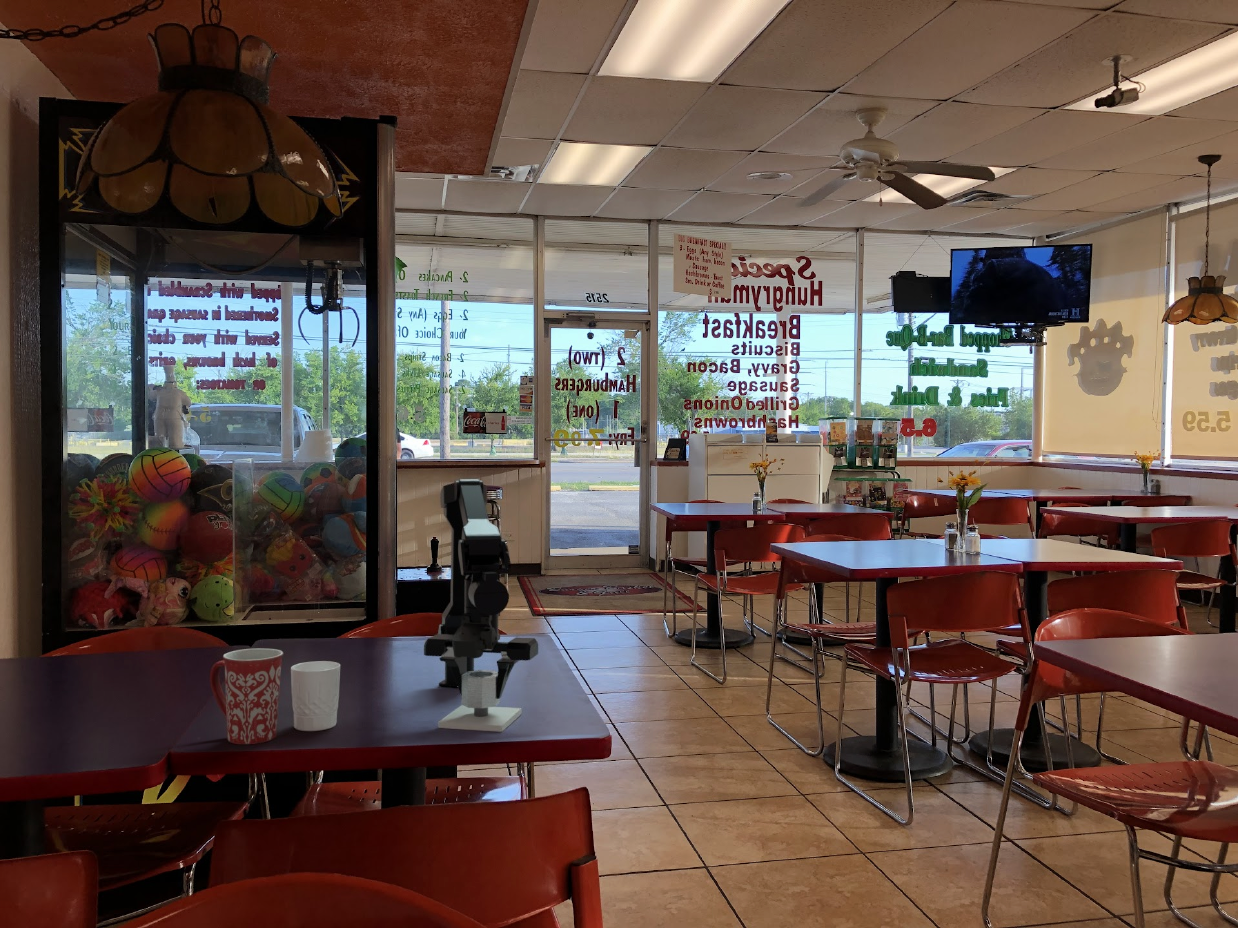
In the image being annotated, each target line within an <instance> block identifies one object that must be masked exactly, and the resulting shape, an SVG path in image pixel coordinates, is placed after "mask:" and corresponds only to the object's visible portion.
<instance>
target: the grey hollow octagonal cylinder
mask: <svg viewBox="0 0 1238 928" xmlns="http://www.w3.org/2000/svg"><path fill="white" fill-rule="evenodd" d="M497 678H498V671H495V670H489V669H488V670H487V669H477V670H474V671H469V672H466V673H464V674H463V675H462V696H461V705H464V706H466V707H468V708H488V707H498V705H499V704H500V703H501V698H500V699H497Z"/></svg>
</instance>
